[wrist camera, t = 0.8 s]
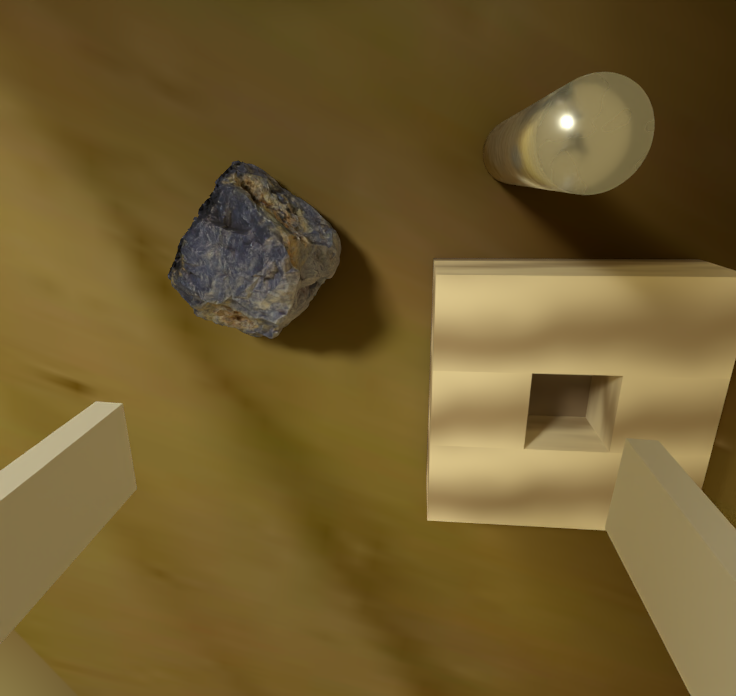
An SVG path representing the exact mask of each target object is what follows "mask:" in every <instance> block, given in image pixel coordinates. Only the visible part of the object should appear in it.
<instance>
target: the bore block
mask: <svg viewBox="0 0 736 696" xmlns="http://www.w3.org/2000/svg"><path fill="white" fill-rule="evenodd" d="M735 359H736V271H735V270H732V269H729V268H725V267H722V266H719V265H716V264H713V263H710V262H707V261H703V260H700V259H511V258H434V262H433V292H432V322H431V351H430V381H429V411H428V441H427V471H426V476H427V520H430V521H448V522H465V523H483V524H501V525H518V526H536V527H553V528H571V529H588V530H606V529H605V525H606V521H607V517H608V512H609V508H610V504H611V500H612V495H613V491H614V487H615V483H616V479H617V474H618V470H619V466H620V462H621V457H622V453H623V449H624V445H625V441H626V438H630V439H644V440H658V441H659V442H660V443H661V444H662V445H663V447H664V448H665V449H666V450H667V451H668V452H669V453H670V455H671V456H672V457H673V458H674V459H675V460H676V461H677V463H678V464H679V465H680V466H681V467H682V468H683V469H684V471H685V472H686V473H687V474H688V475H689V476H690V477H691V479H692V480H693V481H694V482H695V483H696V484H697V486H698V487H699V488H700V489H701V490H702V486H703V482H704V478H705V475H706V471H707V467H708V463H709V459H710V455H711V451H712V448H713V444H714V440H715V436H716V432H717V428H718V424H719V421H720V417H721V413H722V409H723V405H724V401H725V397H726V394H727V390H728V386H729V382H730V378H731V374H732V370H733V367H734V363H735Z"/></svg>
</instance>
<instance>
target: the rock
mask: <svg viewBox="0 0 736 696" xmlns="http://www.w3.org/2000/svg"><path fill="white" fill-rule="evenodd" d="M215 183H216V186H215V189H214V191H213V193H211V195H210V196H211V197H210V198H209V199H207V200H206V201H205V203H204V204H202V206H201V207H200V209H199V212H198V214H199V216H198V218H197V217H194V219H193V220H194V222H193V223H192V226H191V227H190V229H188V230H189V231H187V232H186V234H185V235H184V236H183V237H182V238H181V240H180V243H179V245H178V252H177V254H176V257H175V261H174V262H173V265H172V267H171V268H170V272H169V274H168V278H169V279H170V280H171V283H172V286H173V287H174V288H175V289H176V290H177V291H178V292H179V293H180V295H181V296H182V297H183V298H184V299H185V300H186V301H187V302H188V303H189V304H190V306H191V307H192V308H193V309H194V313H195V314H196V315H197V316H198V317H202V318H203V319H205V320H212V321H213V322H215V323H216V324H220V325H226V326H228V327H234V328H237V329H238V330H240V331H242V332H244V333H246V334H248V335H250V336H254V337H261V336H266V337H268V338H270V339H272V338H275V337H276V336H278V335H279V334H280V332H281V331H282V329H283V328H284V327H286V326H287V325H288V324H289V323H290V322H291V321H292V320H293V319H295V318H296V317H298V316H299V315H300V314H301V313H302V312H303V311H304V310H305V309H306V308H307V307H308V306H309V303H310V301H311V300H313V296H316V293H317V291H318V289H319V288H320V286H321V285H322V284H323V283H325V280H326V279H330V278H332V277H333V275H334V273H335V271H336V269H337V267H338V265H339V262H340V257H339V256H340V253H341V243H340V238H339V236H338V234H337V232H336V231H335V230H334V229H333V228H332V226H331V225H330V223H329V222H328V221H326V220H325V219H324V218H323V217H322V216H321V215H320V214H319V213H318V212H317V210H316V209H314V208H313V207H312V206H310V205H309V204H308V203H306V202H305V201H303V200H302V199H301V198H298V197H296V196H294V195H293V194H292V193H290V192H289V191H287V190H286V189H284V188H282V187H281V186H280V185H279V184H278V183H277V181H276V180H275V179H273V178H272V177H271V176H270V175H269V174H267V173H266V172H265V171H263V170H262V169H260V168H259V167H257V166H255V165H253V164H246V163H244V162H240V161H235V162H232V165H231V166H230V167H229V168H228V169H227V170H226V171H225V172H224V173H223V174H222V175H221V176H220V177H219V178H218V179H217V180H216V182H215Z"/></svg>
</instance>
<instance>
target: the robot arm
mask: <svg viewBox="0 0 736 696" xmlns="http://www.w3.org/2000/svg"><path fill="white" fill-rule="evenodd" d="M136 489H137V486H136V480H135V474H134V468H133V462H132V456H131V450H130V444H129V438H128V432H127V426H126V420H125V414H124V408H123V403H109V402H95V403H93V404H92V405H90V406H89V407H88V408H86V409H85V410H84V411H82V412H81V413H79V414H78V415H77V416H75V417H74V418H73V419H71V420H70V421H68V422H67V423H66V424H64V425H63V426H62V427H60V428H59V429H57V430H56V431H55V432H53V433H52V434H50V435H49V436H48V437H46V438H45V439H44V440H42V441H41V442H39V443H38V444H37V445H35V446H34V447H33V448H31V449H30V450H28V451H27V452H26V453H24V454H23V455H22V456H20V457H19V458H17V459H16V460H15V461H13V462H12V463H10V464H9V465H8V466H6V467H5V468H4V469H2V470H1V471H0V644H1V643H2V642H3V640H4V639H5V638H6V637H7V636H8V635H9V634H10V633H11V631H12V630H13V629H14V628H15V627H16V626H17V625H18V623H19V622H20V621H21V620H22V619H23V618H24V617H25V615H26V614H27V613H28V612H29V611H30V610H31V609H32V608H33V606H34V605H35V604H36V603H37V602H38V601H39V600H40V598H41V597H42V596H43V595H44V594H45V593H46V592H47V590H48V589H49V588H50V587H51V586H52V585H53V584H54V582H55V581H56V580H57V579H58V578H59V577H60V576H61V575H62V573H63V572H64V571H65V570H66V569H67V568H68V567H69V565H70V564H71V563H72V562H73V561H74V560H75V559H76V557H77V556H78V555H79V554H80V553H81V552H82V551H83V549H84V548H85V547H86V546H87V545H88V544H89V543H90V542H91V540H92V539H93V538H94V537H95V536H96V535H97V534H98V532H99V531H100V530H101V529H102V528H103V527H104V526H105V524H106V523H107V522H108V521H109V520H110V519H111V518H112V516H113V515H114V514H115V513H116V512H117V511H118V510H119V509H120V507H121V506H122V505H123V504H124V503H125V502H126V501H127V499H128V498H129V497H130V496H131V495H132V494H133V493H134V491H135V490H136ZM605 529H606V531H607V533H608V535H609V537H610V539H611V541H612V543H613V545H614V547H615V549H616V551H617V553H618V555H619V557H620V559H621V561H622V563H623V565H624V567H625V569H626V570H627V572H628V574H629V576H630V578H631V580H632V582H633V584H634V586H635V588H636V590H637V592H638V594H639V596H640V598H641V600H642V602H643V604H644V606H645V608H646V610H647V611H648V613H649V615H650V617H651V619H652V621H653V623H654V625H655V627H656V629H657V631H658V633H659V635H660V637H661V639H662V641H663V643H664V645H665V647H666V649H667V651H668V652H669V654H670V656H671V658H672V660H673V662H674V664H675V666H676V668H677V670H678V672H679V674H680V676H681V678H682V680H683V682H684V684H685V686H686V688H687V690H688V692H689V693H690V695H691V696H736V529H735V528H734V527H733V526H732V525H731V523H730V522H729V521H728V520H727V519H726V518H725V516H724V515H723V514H722V513H721V512H720V511H719V510H718V508H717V507H716V506H715V505H714V504H713V503H712V502H711V500H710V499H709V498H708V497H707V496H706V495H705V494H704V492H703V491H702V490H701V489H700V488H699V487H698V486H697V484H696V483H695V482H694V481H693V480H692V479H691V477H690V476H689V475H688V474H687V473H686V472H685V471H684V469H683V468H682V467H681V466H680V465H679V464H678V463H677V461H676V460H675V459H674V458H673V457H672V456H671V455H670V453H669V452H668V451H667V450H666V449H665V448H664V447H663V445H662V444H661V443H660V442H659V441H658V440H644V439H630V438H626V441H625V445H624V449H623V453H622V457H621V462H620V466H619V470H618V474H617V479H616V483H615V487H614V491H613V495H612V500H611V504H610V508H609V512H608V517H607V521H606V525H605Z"/></svg>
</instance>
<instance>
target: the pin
mask: <svg viewBox="0 0 736 696" xmlns="http://www.w3.org/2000/svg"><path fill="white" fill-rule="evenodd" d="M654 127H655V125H654V113H653V109H652V105H651V102H650V100H649V98H648V96H647V95H646V93H645V92H644V90H643V89H642V88H641V87H640V86H639V85H638V84H637V83H636V82H634V81H633V80H631V79H630V78H628V77H626V76H623V75H621V74H617V73H612V72H597V73H591V74H587V75H584V76H582V77H579V78H577V79H575V80H573V81H572V82H570V83H568V84H566V85H565V86H563V87H561V88H560V89H558V90H556V91H555V92H553V93H551V94H549V95H548V96H546V97H544V98H543V99H541V100H539V101H538V102H536V103H534V104H532V105H531V106H529V107H527V108H526V109H524V110H522V111H521V112H519V113H517V114H515V115H514V116H512V117H510V118H509V119H507V120H505V121H504V122H502V123H500V124H499V125H497V126H496V127H495V128H494V129H493V130H492V131H491V132H490V134H489V135H488V137H487V139H486V141H485V144H484V147H483V161H484V165H485V167H486V169H487V171H488V173H489V174H490V175H491V176H492V177H493V178H494V179H496V180H497V181H499V182H502V183H506V184H513V185H519V186H526V187H532V188H539V189H546V190H552V191H559V192H565V193H572V194H578V195H594V194H599V193H603V192H606V191H609V190H611V189H613V188H615V187H617V186H619V185H620V184H622V183H623V182H625V181H626V180H627V179H628V178H630V177H631V176H632V175H633V174H634V173H635V172H636V170H637V169H638V168H639V167H640V165H641V164H642V162H643V161H644V159H645V158H646V156H647V154H648V152H649V149H650V146H651V144H652V140H653V135H654Z"/></svg>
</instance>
